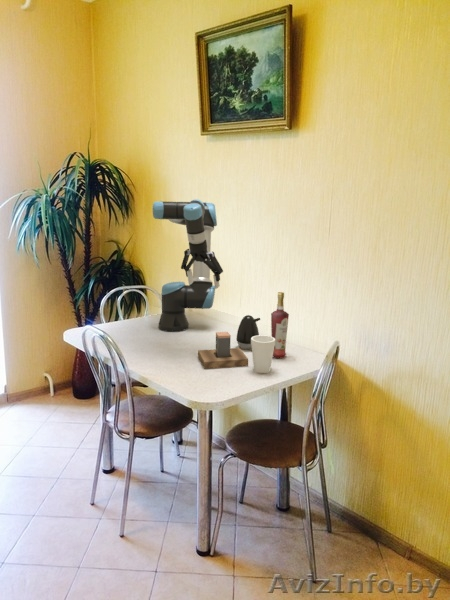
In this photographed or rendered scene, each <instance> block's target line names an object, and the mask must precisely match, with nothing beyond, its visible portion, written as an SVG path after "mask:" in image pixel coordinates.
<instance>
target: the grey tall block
mask: <svg viewBox="0 0 450 600" xmlns="http://www.w3.org/2000/svg"><path fill="white" fill-rule="evenodd" d="M231 337H232V336H231V334H230V333H229V332H228V331H220V332H218V331H216V332H215V349H216V357H217V358H222V357H230V348H231Z"/></svg>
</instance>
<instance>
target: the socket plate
mask: <svg viewBox="0 0 450 600" xmlns="http://www.w3.org/2000/svg"><path fill="white" fill-rule="evenodd" d="M197 352H198V353H197V355H198V356H197V357H198V360H199V362H200V363H201V365H202V367H203V369H204V370H211V369H213V370H214V369H224V368H226V369H227V368H228V369H229V368H238V367H239V368H240V367H241V368H243V367H249V358H248V357H247V355H246V354H245V353H244V352H243V351H242V348H241V347H235V348H234V347H233V348H231V347H230V357H222V358H217V357H216V348H214V349H202V350H201V349H200V350H199V349H198V351H197Z"/></svg>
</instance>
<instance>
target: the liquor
mask: <svg viewBox="0 0 450 600" xmlns="http://www.w3.org/2000/svg"><path fill="white" fill-rule="evenodd" d="M284 298H285V292H284V291H283V292H282V291H281V292H280V291H279V292H277V304H276V310H274V311H273V312H271V314H270V315H271V317H270V321H271V322H270V323H271V324H270V325H271V326H270V327H271V330H270V331H271V337H273V338H275V346H274V351H273V357H272V358H275V359H283V358H285V356H287V352H286V348H287V334H288V328H289V327H288V326H289V316H290V314H289V313H288V312H287V311H285V308H284V307H285V306H284Z"/></svg>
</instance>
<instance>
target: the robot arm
mask: <svg viewBox="0 0 450 600" xmlns="http://www.w3.org/2000/svg"><path fill="white" fill-rule="evenodd" d="M216 211H217V210H216V205H215V204H214V203H213V202H207V201H205V202H203V201H202V200H201V199H196V198H195V199H192V200H190V201H163V200H160V201H154V202H153V203H152V216H153V218H154V219H155V220H168V221H170V222H171V223H173V224H174V223H175V224H177V225H183V226H185V227H186V234H187V241H188V247H189V248H187V249H185V251H184V252H183V254H184V256H183V259H182V263H181V266H180V269H181V270H184V271H185V275H186V278H187V281H188V284H186V283H185V282H184V281H173V282H172V281H171V282H168V283H165V284H163V285H162V286H161V294H160V295H161V315H160V318H159V321H158V330H161V331H164V332H167V333H169V332H170V333H171V332H172V333H175V332H183V331H186V330H188V329H189V322H188V318H187V315H186V309H194V310H195V309H201V310H205V309H207V310H208V309H212V307H213V304H214V300H215V293H216V290H217V289H218V288H219V287H220V281H221V276H220V275H221V274H223V273H224V270H223V268H222V266H221V265H220V262H219V261H218V259H217V257H216V256H215V252H214V251H211V245H212V242H211V241H212V240H211V239H212V232H213V231H214V230H215V227H217V226H218V223H217V222H218V221H217V213H216ZM190 256H191V259H190V260H189V258H190ZM191 267H192V268H191ZM211 272H212V273H213V275H212V276H213V281H212V280H211V278H210V277H211V276H210V275H211ZM213 284H214V285H213Z"/></svg>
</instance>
